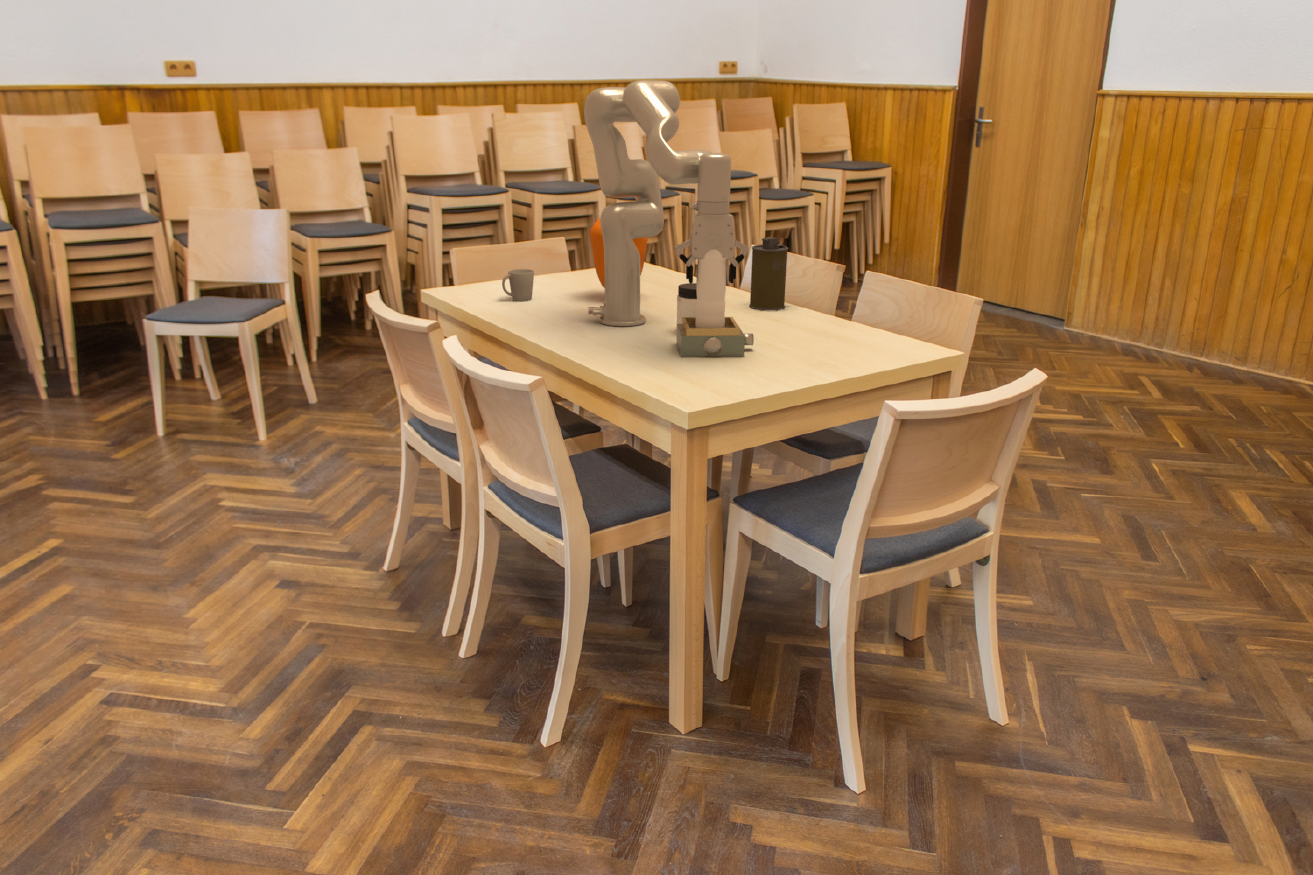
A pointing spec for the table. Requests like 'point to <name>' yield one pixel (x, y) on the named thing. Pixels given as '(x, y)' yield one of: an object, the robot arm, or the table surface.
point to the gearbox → (711, 339)
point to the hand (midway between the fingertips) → (710, 282)
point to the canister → (768, 275)
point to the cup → (520, 284)
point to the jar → (686, 301)
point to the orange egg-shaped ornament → (599, 250)
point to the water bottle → (711, 291)
